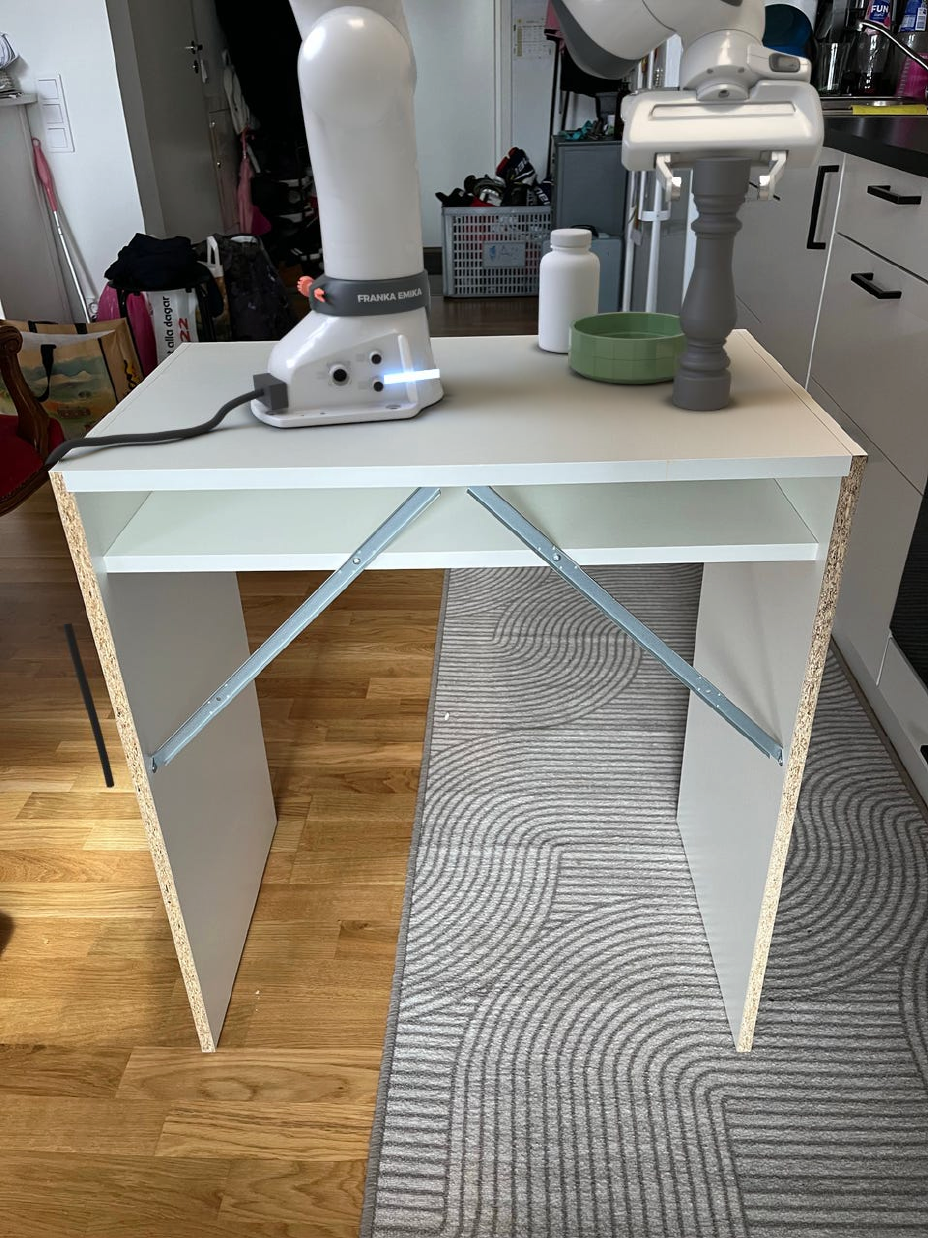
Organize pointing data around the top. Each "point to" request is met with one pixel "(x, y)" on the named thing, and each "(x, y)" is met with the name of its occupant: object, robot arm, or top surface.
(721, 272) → the candle holder
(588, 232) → the pill bottle
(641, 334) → the bowl
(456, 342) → the top surface
